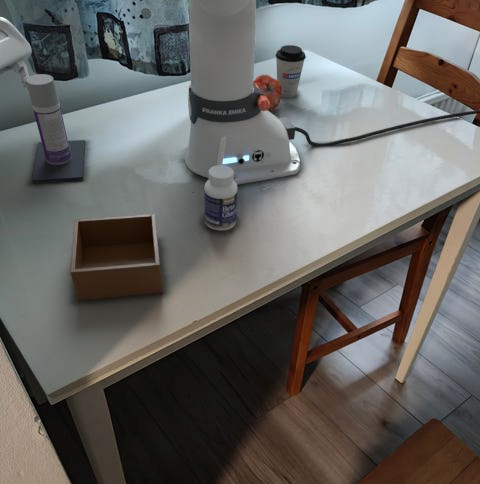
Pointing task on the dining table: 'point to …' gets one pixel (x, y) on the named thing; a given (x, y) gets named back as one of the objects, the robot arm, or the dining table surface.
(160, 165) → the dining table surface
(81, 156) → the pad
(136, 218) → the wooden tray
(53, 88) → the container
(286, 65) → the coffee cup
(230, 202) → the pill bottle
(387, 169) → the dining table surface
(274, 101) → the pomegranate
